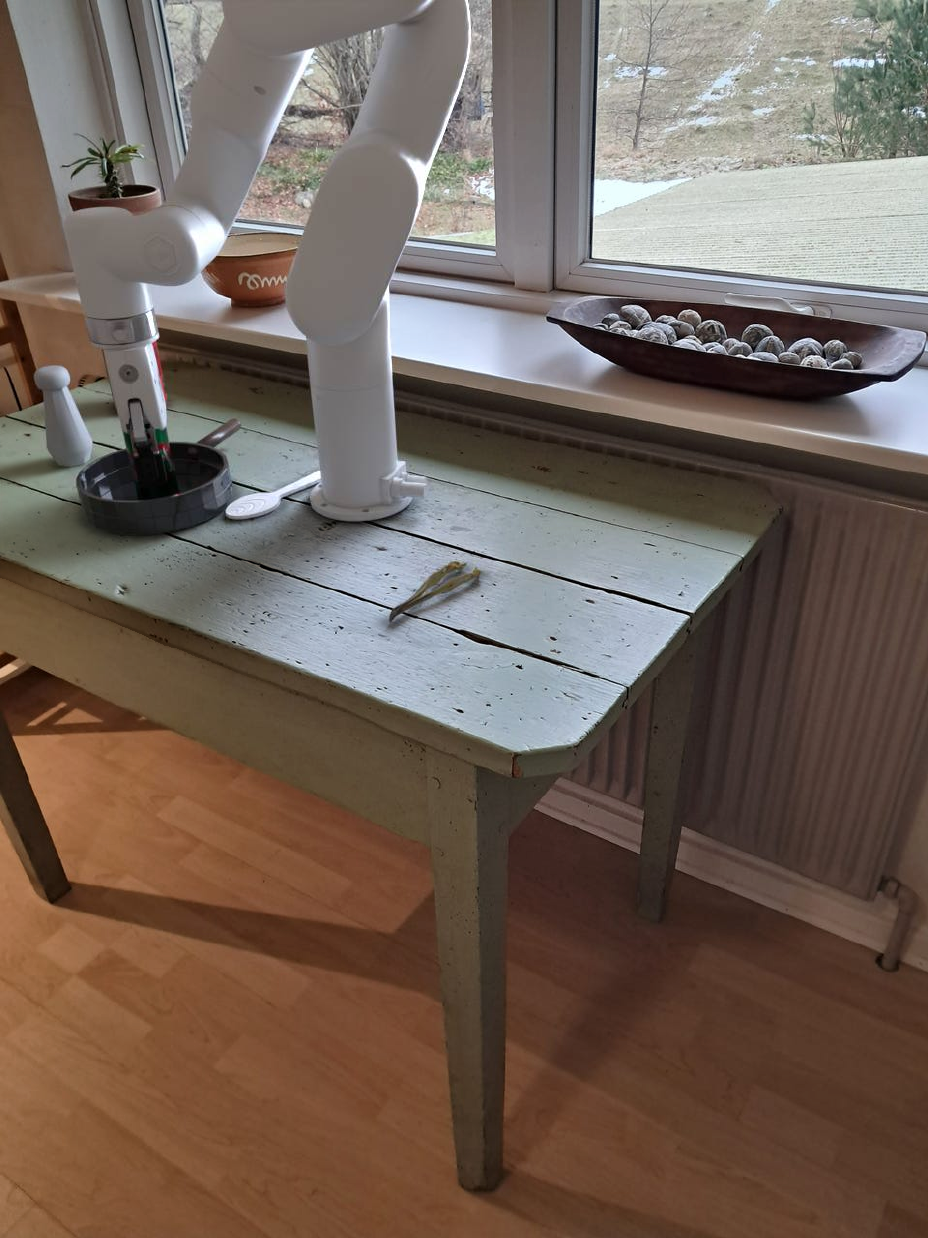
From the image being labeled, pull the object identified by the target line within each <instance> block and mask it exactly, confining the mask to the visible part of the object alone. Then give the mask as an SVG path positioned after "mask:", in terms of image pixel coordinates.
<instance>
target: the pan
mask: <svg viewBox="0 0 928 1238" xmlns="http://www.w3.org/2000/svg"><path fill="white" fill-rule="evenodd" d="M169 443H170V448H171V453H172V458H173V463H174V468H175V473H176V478H177V483H178V488H179V493H180V494H176V495H173V496H169V497H163V498H157V499H151V500H138V498H137V494H136V489H135V485H134V480H133V476H132V472H131V467H130V463H129V459H128V454H127V450H126V447H125V448H122V449H118V450H116V451H112V452H109V453H107V454H105V455H103V456H100V457H98V458H96V459H94V460H93V461H91V462H90V463H88V464H86V466H84V467H83V468H82V469H81V470H80V471H79V472H78V474H77V476H76V477H75V485H76V490H77V493H78V494H77V495H78V496H79V501H80V506H81V509H82V513H83V516H84V518H85V519H86V521H87V523H88V524H90V525H91V526H93V527H95V528H96V529H99V530H101V531H104V532H108V533H113V534H117V535H125V536H152V535H160V534H167V533H172V532H177V531H181V530H185V529H188V528H191V527H194V526H197V525H199V524H201V523H204V522H206V521H208V520H210V519H212V518H213V517H215V516H217V515H218V514H220V513H221V512H222V511H224V510H225V508H226V509H227V508H228V506H229V505H230V504H231V503H232V500H233V496H234V488H233V482H232V476H231V475H232V474H231V469H230V463H229V460H228V458H227V455H226V454H225V453H224V452H222V451H221V450H220V449H218V448H216V447H211V446H207V445H204V444H199V443H197V442H191V441H190V442H189V441H169ZM191 447H193V448H195V449H196V450H197V451H198V453H199V458H198V459H196V460H194V459H191V458H190V457H189V456H188V453H187V451H188V449H189V448H191Z"/></svg>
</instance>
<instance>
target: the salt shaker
mask: <svg viewBox="0 0 928 1238" xmlns="http://www.w3.org/2000/svg"><path fill="white" fill-rule="evenodd" d="M33 381H34V383H35V386H36V387H37V388H38V389H39V390H42V397H43V411H44V426H45V441H46V449H47V451H48V453H49V454H50V455H51V457H52V458H53V459H54V461H55V462H56V463H57V465H58V466H59V467H66V468H74V467H78V466H81V465H85V464H86V463H87V462H88V461H89V460H90V459H91V455H92V449H93V439H92V437H91V435H90V432H89V430H88V429H87V426H86V424H85V422H84V420H83V417H82V416H81V413H80V411H79V408H78V407H77V405H76V402H75V400H74V398H73V396H72V394H71V392H70V389H69V388H68V385H69V384H70V383H71V377H70V373H69V371H68V370H67V369H66V368H65V367H64V366H62V365H46V366H42V367H40V368H38V369H36V370H35V371H34V373H33Z"/></svg>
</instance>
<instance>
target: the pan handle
mask: <svg viewBox="0 0 928 1238" xmlns="http://www.w3.org/2000/svg"><path fill="white" fill-rule="evenodd" d="M241 427H242V423H241V421H240V420H239V419H237V418H231V419H229V420H228V421H226V422H225V423H223V424H221V425H220V426H218V427H217V428H216V429H214V430H213V431H212V432H210V433H208V434H207V435H205V436H204V437H202V438H201V439H199V440H198V441H197V442H196V443H199V444H204V445H207V446H211V447H214V448H216V447H218V446H219V445H220V444H222V443H223V442H224V441H226V440H227V439H229V438H231V436H233V435H234V434H236V433H238V431H239V430H241ZM187 453H188V456H189V457H190V458H191V459H194V460H196V459H198V458H199V453H198V451H197V450H196V449H195V448H193V447H191V448H189V449H188V451H187Z"/></svg>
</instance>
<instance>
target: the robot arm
mask: <svg viewBox="0 0 928 1238" xmlns="http://www.w3.org/2000/svg"><path fill="white" fill-rule="evenodd" d="M221 8H222V13H223V19H222V22H221V24H220V27H219V29H218V32H217V33H216V35H215V39H214V41H213V43H212V45H211V48H210V50H209V52H208V55H207V57H206V60H205V61H204V64H203V66H202V69H201V71H200V73H199V75H198V78H197V80H196V82H195V84H194V86H193V89H192V92H191V95H190V101H189V113H190V119H191V133H190V139H189V143H188V147H187V151H186V153H185V156H184V159H183V162H182V164H181V166H180V169H179V170H178V172H177V173H178V174H177V175H176V177H175V180H174V182H173V184H172V186H171V188H170V191H169V193H168V195H167V197H166V199H165V201H164V203H162V204H160V205H159V206H157V207H156V208H154V209H152V210H151V211H148V212H145V213H143V214H137V215H134V214H133V213H132V212H131V211H130V210H128V209H126V208H122V207H117V206H97V207H87V208H82V209H78V210H75V211H72V212H70V213H69V214H68V215H67V216H66V217H65V220H64V223H63V230H64V235H65V240H66V244H67V249H68V252H69V253H68V254H69V257H70V262H71V265H72V271H73V275H74V278H75V283H76V288H77V292H78V296H79V301H80V303H81V304H80V305H81V309H82V313H83V317H84V322H85V325H86V330H87V332H88V333H87V334H88V338H89V342H90V343H89V344H90V345H91V346H92V347H93V348H96V349H100V350H102V349H103V352H104V357H105V361H104V363H105V362H106V366H107V370H106V372H107V371H108V374H107V376H108V375H109V378H108V381H109V380H110V383H109V385H110V384H111V387H110V389H111V388H112V391H111V393H112V392H113V396H112V398H113V397H114V400H113V402H114V401H115V404H114V406H115V405H116V406H115V408H116V412H117V416H118V418H119V423H120V427H122V428H121V431H122V430H123V431H124V432H125V433H127V434H129V432H130V437H131V442H132V447H133V453H134V455H133V459H134V464H135V468H136V472H137V477H138V481H139V486H140V487H141V488H146V487H154V486H162V485H166V484H167V478H166V473H165V468H164V463H163V459H162V454H161V452H159V451H158V446H157V440H156V434H155V429H160V430H164V429H165V427H166V428H167V402H166V403H165V399H164V394H163V390H162V385H161V381H160V376H159V371H158V366H157V362H156V357H155V353H154V349H153V346H152V342H154V341H156V342H157V340H159V338H160V333H159V329H158V328H159V327H158V321H157V319H156V318H157V317H156V313H155V307H154V302H153V297H152V291H151V287H150V285H154V286H158V287H159V286H161V287H179V286H183V285H185V284H188V283H190V282H192V281H193V280H194V279H195V278H196V277H197V276H198V275H199V274H200V273H202V272H203V270H204V269H205V268H206V267H207V266H208V265H209V264H210V263H211V262H212V261H214V259H215V258H216V257H217V256H218V254H219V253H220V251H221V249H222V248H223V246H224V244H225V242H226V240H227V238H228V236H229V235H230V232H231V229H232V228H233V226H234V224H235V221H236V220H237V218H238V215H239V214H240V211H241V209H242V208H243V205H244V204H245V201H246V198H247V196H248V194H249V192H250V189H251V187H252V185H253V183H254V180H255V178H256V175H257V172H258V171H259V169H260V167H261V165H262V163H263V162H264V160H265V157H266V155H267V152H268V149H269V146H270V144H271V142H272V140H273V138H274V136H275V133H276V132H277V129H278V127H279V125H280V123H281V121H282V119H283V117H284V114H285V111H286V110H287V107H288V105H289V103H290V101H291V99H292V97H293V96H294V93H295V91H296V89H297V86H298V85H299V82H300V80H301V78H302V76H303V75H304V73H305V71H306V69H307V66H308V64H309V62H310V60H311V58H312V56H313V54H314V52H315V50H316V48H319V47H323V46H327V45H331V44H333V43H336V42H339V41H342V40H347V39H349V38H353V37H355V36H358V35H362V34H365V33H368V32H370V31H374V30H378V29H381V28H383V29H384V30H383V31H384V32H383V41H382V45H381V49H380V52H379V55H378V58H377V61H376V64H375V66H374V69H373V71H372V73H371V76H370V78H369V83H368V86H367V90H366V93H365V95H364V98H363V100H362V103H361V106H360V108H359V112H358V113H357V117H356V119H355V122H354V123H353V126H352V129H351V131H350V134H349V136H348V137H347V139H346V140H345V142H344V143H343V144H342V146H341V147H340V148H339V149H338V151H336V153H335V154H334V155H333V157H332V158H331V159H330V161H329V163H328V165H327V167H326V170H325V171H324V174H323V177H322V179H321V181H320V184H319V187H318V190H317V192H316V195H315V197H314V201H313V204H312V207H311V209H310V212H309V215H308V218H307V221H306V223H305V226H304V228H303V232H302V233H301V236H300V237H301V238H300V239H299V243H298V246H297V249H296V252H295V254H294V257H293V260H292V262H291V265H290V268H289V271H288V274H287V276H286V277H287V278H286V281H285V287H284V297H285V298H284V300H285V301H284V302H285V306H286V309H287V312H288V315H289V317H290V320H291V321H292V323H293V324H294V326H295V327H296V329H297V330H298V331H299V332H300V333H301V334H302V335H303V336H305V343H306V355H307V367H308V375H309V387H310V395H311V404H312V410H313V411H312V413H313V422H314V431H315V438H316V439H315V440H316V448H317V458H318V465H319V470H320V476H321V482H319V483H317V484H315V486H314V487H313V488H312V490H311V491H310V494H309V500H310V505H311V507H312V509H313V510H314V511H315V512H316V513H317V514H319V515H321V516H323V517H325V518H328V519H332V520H337V521H341V522H369V521H376V520H380V519H383V518H384V519H385V518H387V517H390V516H393V515H396V514H397V513H400V512H401V511H403V510H404V509H405V508H407V507H408V506H409V505H410V503H411V502H412V500H413V499H415V500H423V501H427V500H428V499H429V495H430V484H428V483H427V482H428V479H427V476H423V475H421V476H420V475H412V474H411V475H410V473H409V472H407V465H406V464H407V463H406V461H403V460H398V447H397V446H398V445H397V443H398V442H397V431H396V430H397V429H396V413H395V412H396V411H395V399H394V385H393V384H394V383H393V381H394V380H393V363H392V347H391V345H392V343H391V318H390V316H391V315H390V283H391V281H392V279H393V277H394V274H395V272H396V270H397V267H398V264H399V261H400V259H401V257H402V255H403V252H404V249H405V247H406V245H407V243H408V240H409V238H410V235H411V234H412V233H411V232H412V230H413V228H414V225H415V223H416V220H417V217H418V215H419V212H420V209H421V206H422V202H423V198H424V193H425V188H426V184H427V183H426V182H427V179H428V175H429V173H430V171H431V167H432V164H433V162H434V159H435V156H436V155H437V151H438V149H439V146H440V144H441V141H442V140H443V136H444V134H445V131H446V129H447V126H448V123H449V119H450V117H451V114H452V112H453V109H454V106H455V103H456V101H457V98H458V96H459V93H460V91H461V87H462V84H463V81H464V77H465V74H466V70H467V66H468V60H469V57H470V48H471V15H470V9H469V8H470V7H469V2H468V0H221ZM104 357H103V358H104ZM106 366H105V367H106ZM141 403H142V404H141ZM142 407H143V411H142ZM144 424H150V428H149V429H145V425H144ZM146 434H150V436H151V440H150V439H147V436H146Z"/></svg>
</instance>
